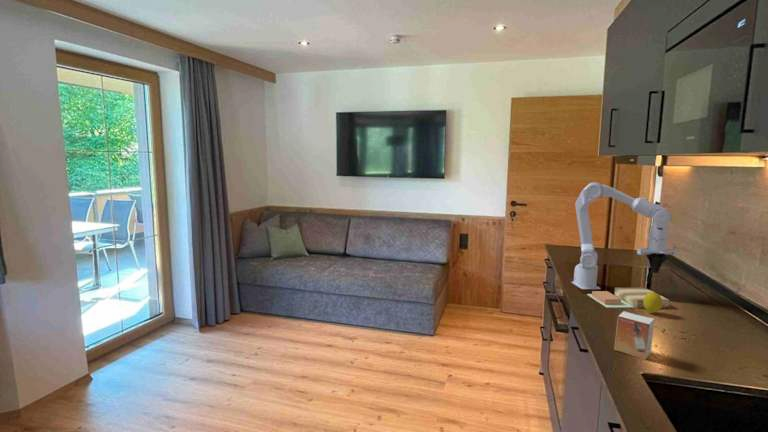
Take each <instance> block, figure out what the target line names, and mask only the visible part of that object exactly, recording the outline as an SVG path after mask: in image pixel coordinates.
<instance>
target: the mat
mask: <svg viewBox="0 0 768 432" xmlns="http://www.w3.org/2000/svg"><path fill="white" fill-rule="evenodd" d="M586 296H588V297H590V298H591V299H593V300H594V301H596V302H597V303H599V304H600V305H602V306H604V307H605V308H607V309H635V307H634V306H633V305H631V304H629V303H627V302H626V301H624V300H622V299H621V298H620V299H621V304H603V303H602V302H600V301H599V300H597V299H596V298H594V297H593V296H592V293H587V294H586Z"/></svg>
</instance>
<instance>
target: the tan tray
mask: <svg viewBox="0 0 768 432" xmlns="http://www.w3.org/2000/svg"><path fill="white" fill-rule="evenodd" d="M650 292H653V290H651V289H648V288H646V287H614V294H613V295H615V296H616V297H618V298H620V299H622V300H623V301H625V302H627V303H628V304H630V305H632V306H633V307H634V308H636V309H645V307H644V305H643V300H644V297H645V295H646V294H648V293H650ZM657 294H658V295H660V294H659V293H657ZM660 297H661V299H662V307H661V309H667V308H666V307H670V299H668V298H666V297H664V296H663V295H660Z"/></svg>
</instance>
